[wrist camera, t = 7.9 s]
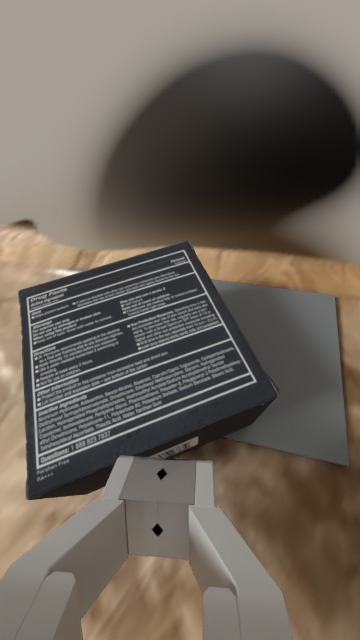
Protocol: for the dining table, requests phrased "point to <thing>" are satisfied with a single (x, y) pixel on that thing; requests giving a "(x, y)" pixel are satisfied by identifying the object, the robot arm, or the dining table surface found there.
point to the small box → (130, 369)
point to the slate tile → (293, 369)
